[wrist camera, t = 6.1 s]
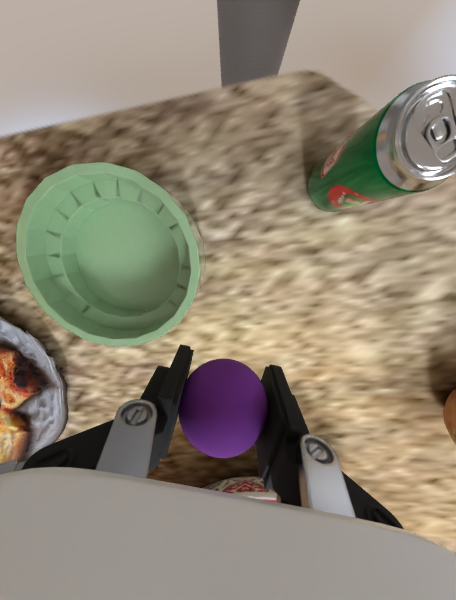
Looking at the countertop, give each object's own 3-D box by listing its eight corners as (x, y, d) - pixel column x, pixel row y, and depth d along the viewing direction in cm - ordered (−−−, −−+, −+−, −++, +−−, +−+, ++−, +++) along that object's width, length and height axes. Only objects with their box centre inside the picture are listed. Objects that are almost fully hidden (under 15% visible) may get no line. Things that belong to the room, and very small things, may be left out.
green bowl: (63, 158, 22) (16, 136, 17) (220, 202, 23) (218, 193, 18) (55, 308, 26) (15, 324, 21) (189, 339, 27) (180, 362, 22)
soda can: (341, 143, 21) (473, 33, 10) (366, 190, 22) (514, 141, 11) (295, 180, 22) (368, 118, 11) (322, 223, 23) (415, 210, 12)
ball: (195, 336, 12) (178, 387, 8) (270, 353, 12) (290, 411, 8) (181, 399, 13) (159, 472, 9) (250, 414, 13) (259, 491, 9)
